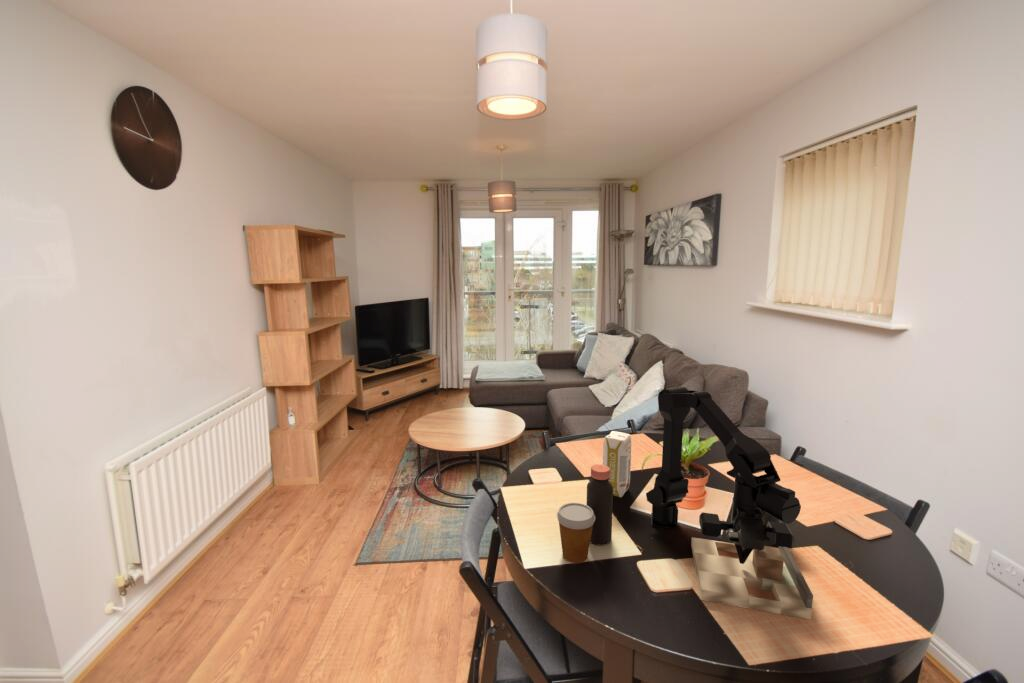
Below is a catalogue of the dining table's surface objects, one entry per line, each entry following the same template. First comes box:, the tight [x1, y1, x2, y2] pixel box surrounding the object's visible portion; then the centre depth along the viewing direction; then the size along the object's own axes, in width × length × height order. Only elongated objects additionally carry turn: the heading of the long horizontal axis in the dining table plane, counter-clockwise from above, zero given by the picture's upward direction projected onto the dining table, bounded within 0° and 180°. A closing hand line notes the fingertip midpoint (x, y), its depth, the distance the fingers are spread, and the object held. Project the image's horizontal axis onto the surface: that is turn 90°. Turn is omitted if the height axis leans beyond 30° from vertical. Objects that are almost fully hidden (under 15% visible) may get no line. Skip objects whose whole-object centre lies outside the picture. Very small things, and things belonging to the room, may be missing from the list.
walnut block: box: [752, 545, 784, 582], centre depth 103 cm, size 5×5×5 cm
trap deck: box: [690, 537, 814, 620], centre depth 104 cm, size 21×20×6 cm
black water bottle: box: [586, 463, 614, 546], centre depth 119 cm, size 7×7×20 cm
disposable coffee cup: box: [556, 502, 595, 564], centre depth 113 cm, size 10×10×12 cm
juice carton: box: [602, 430, 632, 498], centre depth 145 cm, size 8×9×19 cm
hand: (741, 562), depth 105 cm, fingers closed
